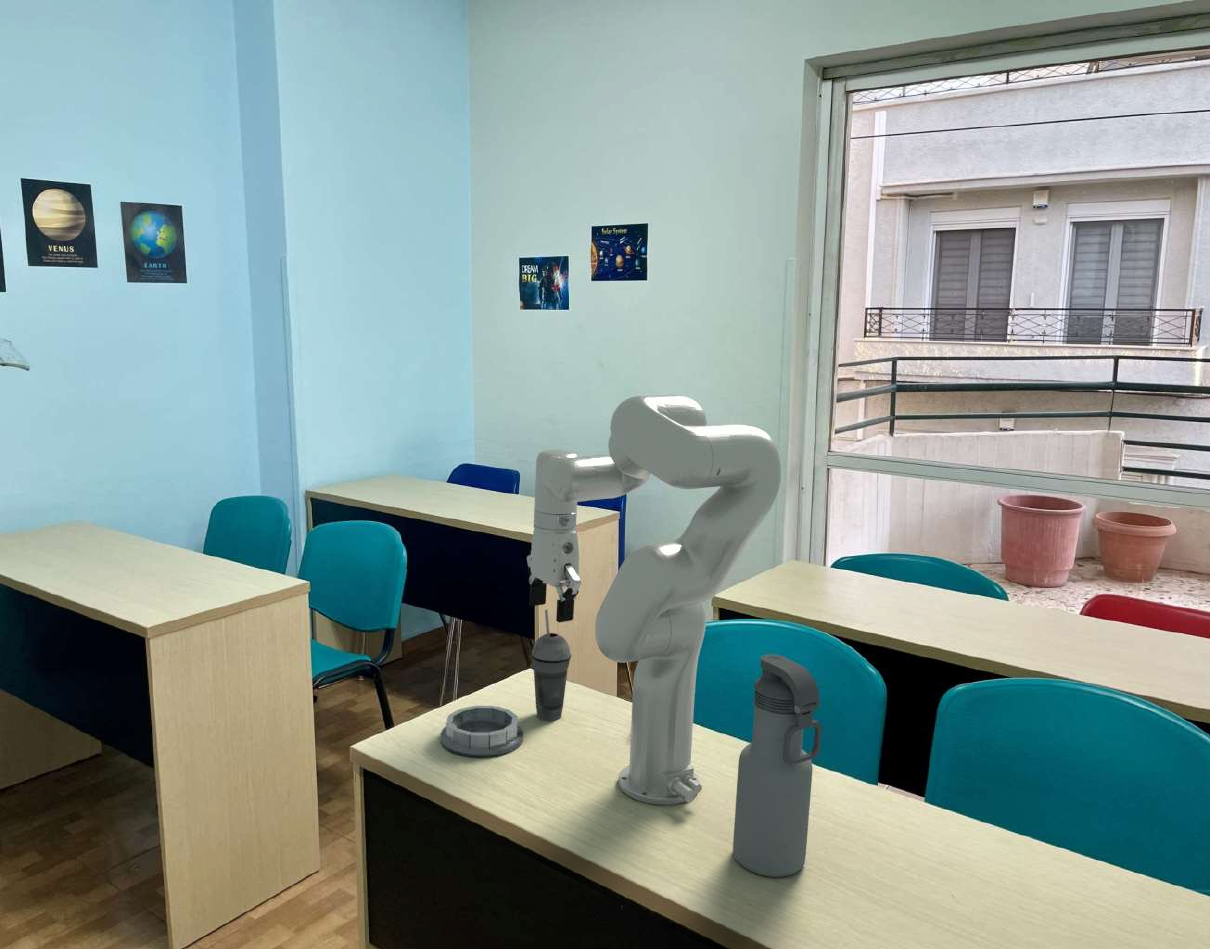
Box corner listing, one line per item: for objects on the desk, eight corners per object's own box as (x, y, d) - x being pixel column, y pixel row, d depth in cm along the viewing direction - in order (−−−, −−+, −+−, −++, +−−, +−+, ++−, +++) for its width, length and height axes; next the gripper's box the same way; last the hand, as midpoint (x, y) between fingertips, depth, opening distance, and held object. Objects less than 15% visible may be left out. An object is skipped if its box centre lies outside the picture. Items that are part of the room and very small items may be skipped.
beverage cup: (563, 726, 166) (567, 618, 163) (524, 721, 168) (527, 614, 164) (573, 710, 173) (576, 606, 170) (535, 705, 175) (538, 602, 172)
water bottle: (822, 868, 125) (839, 670, 121) (768, 889, 120) (783, 683, 116) (770, 832, 134) (784, 645, 129) (717, 851, 128) (730, 657, 124)
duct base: (537, 746, 158) (538, 727, 157) (461, 764, 150) (462, 744, 150) (500, 716, 169) (500, 697, 169) (427, 731, 162) (427, 712, 161)
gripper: (599, 529, 160) (594, 624, 163) (549, 508, 174) (545, 596, 177) (561, 533, 156) (557, 630, 159) (513, 511, 170) (510, 601, 173)
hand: (550, 612), depth 168 cm, fingers open, 9 cm apart
